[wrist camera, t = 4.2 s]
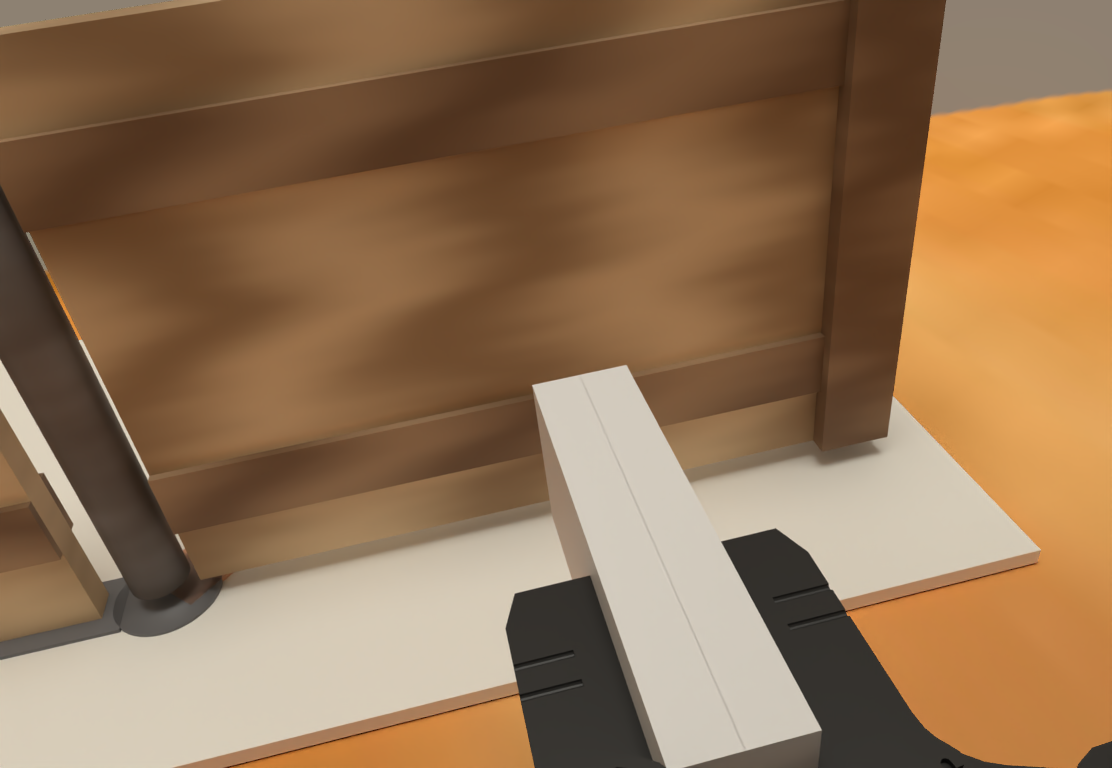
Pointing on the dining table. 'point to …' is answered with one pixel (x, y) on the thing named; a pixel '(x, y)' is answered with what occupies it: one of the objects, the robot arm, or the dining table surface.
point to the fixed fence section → (39, 552)
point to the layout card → (432, 606)
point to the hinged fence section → (442, 248)
